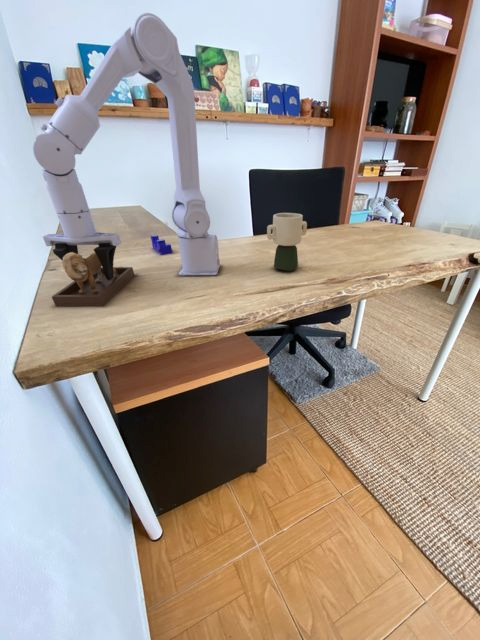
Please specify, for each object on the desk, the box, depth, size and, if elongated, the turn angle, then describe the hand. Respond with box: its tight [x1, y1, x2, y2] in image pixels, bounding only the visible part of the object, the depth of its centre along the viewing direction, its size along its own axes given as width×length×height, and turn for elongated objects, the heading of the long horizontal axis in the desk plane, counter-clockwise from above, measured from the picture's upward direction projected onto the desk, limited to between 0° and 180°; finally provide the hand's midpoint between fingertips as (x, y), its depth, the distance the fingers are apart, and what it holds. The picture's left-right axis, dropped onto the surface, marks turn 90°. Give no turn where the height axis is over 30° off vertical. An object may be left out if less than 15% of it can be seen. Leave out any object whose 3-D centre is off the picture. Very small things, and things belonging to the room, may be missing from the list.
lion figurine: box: [61, 252, 118, 293], centre depth 63 cm, size 15×5×9 cm, turn 0°
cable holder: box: [150, 234, 173, 256], centre depth 90 cm, size 8×4×4 cm, turn 34°
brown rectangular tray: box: [51, 266, 135, 307], centre depth 66 cm, size 10×18×2 cm, turn 0°
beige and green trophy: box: [266, 212, 308, 272], centre depth 73 cm, size 11×7×13 cm, turn 115°
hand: (95, 278), depth 65 cm, fingers open, 6 cm apart
